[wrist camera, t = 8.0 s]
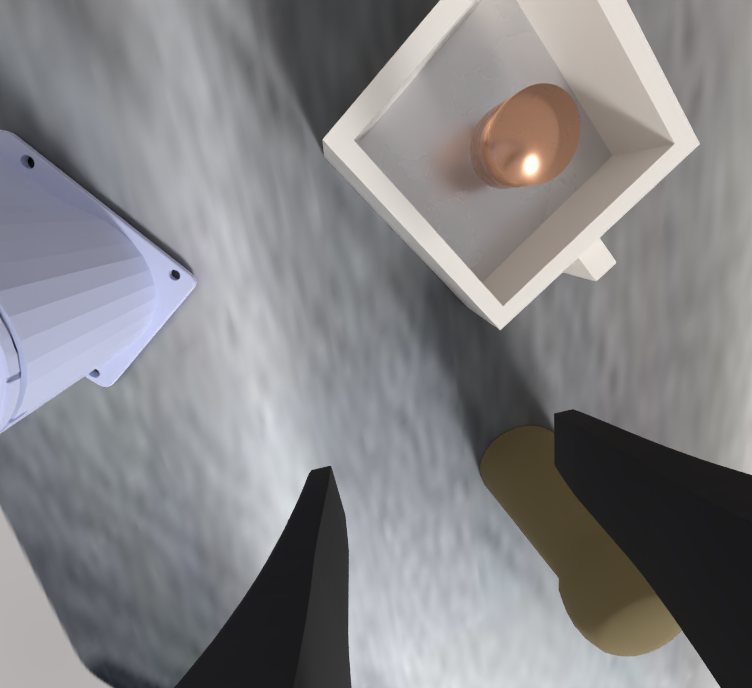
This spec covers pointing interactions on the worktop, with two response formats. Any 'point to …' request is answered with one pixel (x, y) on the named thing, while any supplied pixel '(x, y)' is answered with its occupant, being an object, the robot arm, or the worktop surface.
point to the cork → (575, 547)
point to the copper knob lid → (487, 137)
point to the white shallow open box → (583, 208)
